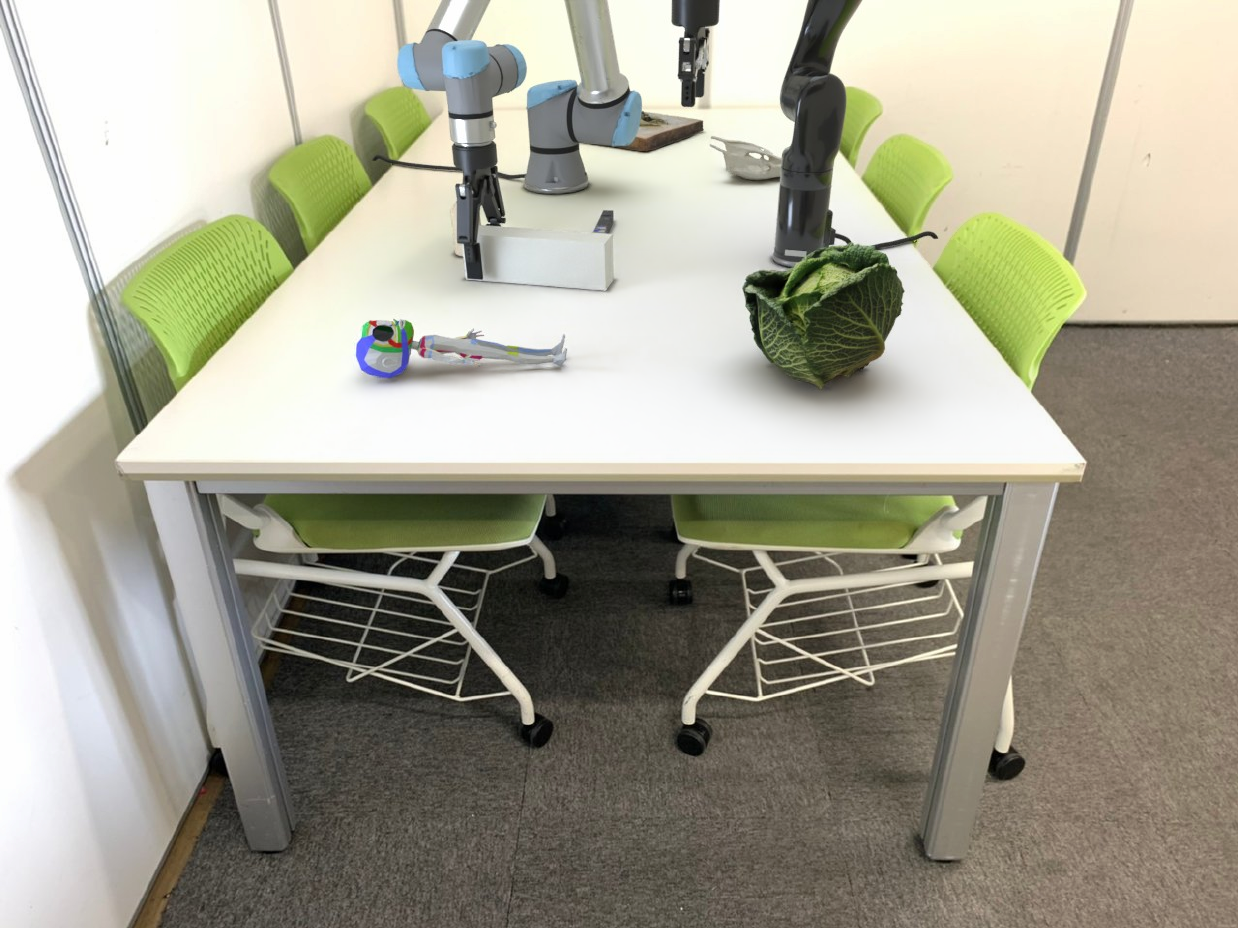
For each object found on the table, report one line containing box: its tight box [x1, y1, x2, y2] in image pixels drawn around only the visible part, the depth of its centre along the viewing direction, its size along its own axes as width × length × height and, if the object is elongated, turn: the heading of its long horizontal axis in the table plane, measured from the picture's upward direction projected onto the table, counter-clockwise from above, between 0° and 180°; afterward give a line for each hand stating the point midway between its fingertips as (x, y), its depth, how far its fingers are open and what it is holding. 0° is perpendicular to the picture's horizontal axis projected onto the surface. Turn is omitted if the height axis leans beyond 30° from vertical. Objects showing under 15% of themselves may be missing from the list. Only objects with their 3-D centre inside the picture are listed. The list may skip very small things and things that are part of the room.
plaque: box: [597, 110, 705, 152], centre depth 257 cm, size 30×7×30 cm
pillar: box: [592, 209, 615, 234], centre depth 182 cm, size 2×2×20 cm
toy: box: [353, 318, 568, 379], centre depth 130 cm, size 10×8×30 cm
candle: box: [449, 200, 482, 257], centre depth 172 cm, size 6×6×10 cm
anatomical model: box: [709, 135, 782, 181], centre depth 217 cm, size 15×9×25 cm
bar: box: [462, 224, 614, 292], centre depth 160 cm, size 26×5×8 cm, turn 76°
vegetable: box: [742, 241, 906, 390], centre depth 125 cm, size 20×19×20 cm
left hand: (486, 268), depth 164 cm, fingers open, 10 cm apart
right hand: (692, 101), depth 148 cm, fingers open, 8 cm apart
